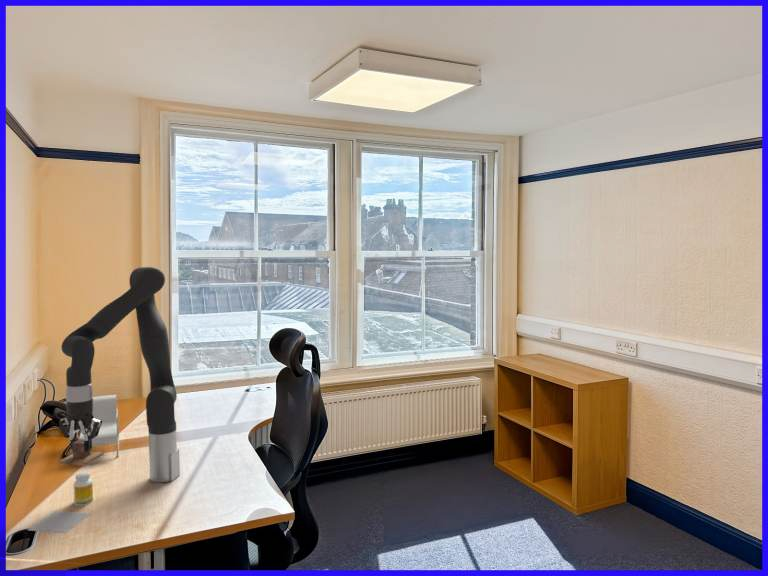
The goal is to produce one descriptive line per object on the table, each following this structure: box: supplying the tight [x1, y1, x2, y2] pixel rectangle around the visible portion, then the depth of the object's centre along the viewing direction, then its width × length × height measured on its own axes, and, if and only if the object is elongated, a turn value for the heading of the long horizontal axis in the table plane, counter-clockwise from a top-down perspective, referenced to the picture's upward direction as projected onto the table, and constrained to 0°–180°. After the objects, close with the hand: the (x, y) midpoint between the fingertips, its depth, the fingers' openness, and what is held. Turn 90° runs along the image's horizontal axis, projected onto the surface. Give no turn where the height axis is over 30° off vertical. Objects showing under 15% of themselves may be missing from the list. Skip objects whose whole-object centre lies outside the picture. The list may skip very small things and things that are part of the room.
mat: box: [27, 510, 92, 534], centre depth 175 cm, size 12×12×1 cm
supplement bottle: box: [73, 471, 94, 507], centre depth 188 cm, size 5×5×10 cm
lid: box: [59, 438, 104, 467], centre depth 187 cm, size 9×9×6 cm
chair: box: [78, 394, 120, 457], centre depth 234 cm, size 13×25×20 cm, turn 24°
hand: (81, 450), depth 187 cm, fingers closed on lid, 3 cm apart
